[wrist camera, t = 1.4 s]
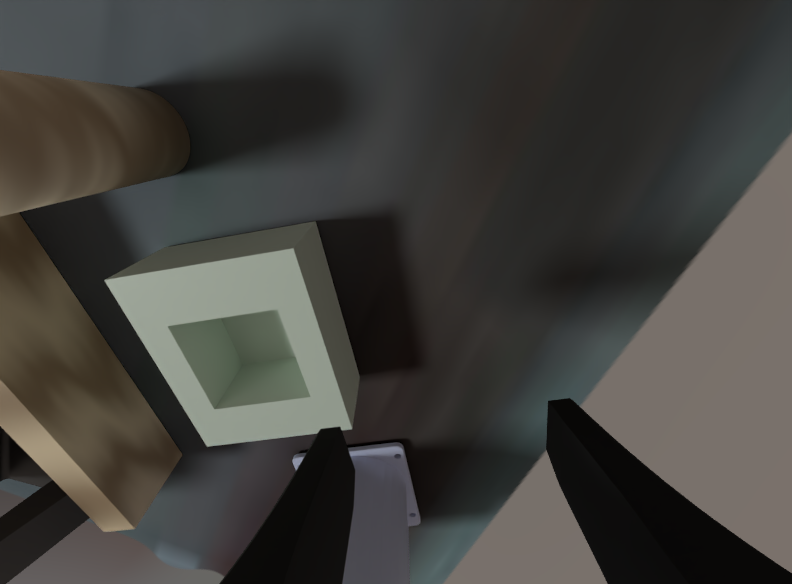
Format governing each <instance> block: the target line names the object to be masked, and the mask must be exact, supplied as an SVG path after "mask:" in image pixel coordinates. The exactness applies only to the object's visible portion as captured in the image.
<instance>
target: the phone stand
mask: <svg viewBox="0 0 792 584" xmlns="http://www.w3.org/2000/svg"><path fill="white" fill-rule="evenodd" d="M4 479H13V480H17V481H21V482H24V483H28V484H32V485H35V486H39V487H42V488H40V489H39V490H38V491H36V492H35V493H34V494H32V495H31V496H29V497H28V498H27V499H25V500H24V501H23V502H21V503H20V504H18V505H17V506H16V507H14V508H13V509H11V510H10V511H9V512H7V513H6V514H5V515H3V516H2V517H1V518H0V584H6V583H7V582H9V581H10V580H11V579H12V578H14V577H15V576H16V575H18V574H19V573H20V572H21V571H23V570H24V569H25V568H26V567H27V566H29V565H30V564H31V563H33V562H34V561H35V560H37V559H38V558H39V557H40V556H42V555H43V554H44V553H45V552H47V551H48V550H49V549H50V548H52V547H53V546H54V545H56V544H57V543H58V542H59V541H61V540H62V539H63V538H64V537H66V536H67V535H68V534H70V533H71V532H72V531H73V530H75V529H76V528H77V527H78V526H80V525H81V524H82V523H84V522H85V521H86V520H87V519H89V518H90V517H89V516H88V515H87V514H86V513H85V512H84V511H83V510H82V509H81V508H80V507H79V506H78V505H77V504H76V503H75V502H74V501H73V500H72V499H71V498H70V497H69V496H68V495H67V494H66V493H65V492H64V491H63V490H62V489H61V488H60V487H59V485H58V484H57V483H56V482H55V481H54V480H53V479H52V478H51V477H50V476H49V475H48V474H47V473H46V472H45V471H44V470H43V469H42V468H41V467H40V466H39V465H38V464H37V463H36V462H35V461H34V460H33V459H32V458H31V457H30V456H29V455H28V454H27V453H26V452H25V451H24V450H23V449H22V448H21V447H20V446H19V445H18V444H17V443H16V442H15V441H14V440H13V439H12V438H11V437H10V435H9V434H8V433H7V432H6V431H5V430H4V429H3V428H2V427H1V426H0V481H2V480H4Z"/></svg>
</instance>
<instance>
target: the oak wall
mask: <svg viewBox="0 0 792 584" xmlns="http://www.w3.org/2000/svg"><path fill="white" fill-rule="evenodd" d="M0 426H1V427H2V428H3V429H4V430H5V431H6V432H7V433H8V434H9V435H10V437H11V438H12V439H13V440H14V441H15V442H16V443H17V444H18V445H19V446H20V447H21V448H22V449H23V450H24V451H25V452H26V453H27V454H28V455H29V456H30V457H31V458H32V459H33V460H34V461H35V462H36V463H37V464H38V465H39V466H40V467H41V468H42V469H43V470H44V471H45V472H46V473H47V474H48V475H49V476H50V477H51V478H52V479H53V480H54V481H55V482H56V483H57V484H58V485H59V487H60V488H61V489H62V490H63V491H64V492H65V493H66V494H67V495H68V496H69V497H70V498H71V499H72V500H73V501H74V502H75V503H76V504H77V505H78V506H79V507H80V508H81V509H82V510H83V511H84V512H85V513H86V514H87V515H88V516H89V517H90V518H91V519H92V520H93V521H94V522H95V523H96V524H97V525H98V526H99V527H100V528H101V529H102V530H103V531H104V532H109V531H119V530H129V529H135V528H136V526H137V525H138V523H139V522H140V520H141V519H142V517H143V516H144V514H145V512H146V511H147V509H148V508H149V506H150V505H151V503H152V502H153V500H154V499H155V497H156V495H157V494H158V492H159V491H160V489H161V488H162V486H163V485H164V483H165V481H166V480H167V478H168V477H169V475H170V474H171V472H172V471H173V469H174V468H175V466H176V464H177V463H178V461H179V460H180V458H181V457H182V455H183V454H182V453H181V451H180V450H179V449H178V447H177V446H176V444H175V443H174V441H173V440H172V438H171V437H170V435H169V434H168V432H167V431H166V429H165V428H164V426H163V425H162V423H161V422H160V420H159V419H158V417H157V416H156V414H155V413H154V412H153V410H152V409H151V407H150V406H149V404H148V403H147V401H146V400H145V398H144V397H143V395H142V394H141V392H140V391H139V389H138V388H137V386H136V385H135V383H134V382H133V380H132V379H131V378H130V376H129V375H128V373H127V372H126V370H125V369H124V367H123V366H122V364H121V363H120V361H119V360H118V358H117V357H116V355H115V354H114V352H113V351H112V349H111V348H110V346H109V345H108V343H107V342H106V341H105V339H104V338H103V336H102V335H101V333H100V332H99V330H98V329H97V327H96V326H95V324H94V323H93V321H92V320H91V318H90V317H89V315H88V314H87V312H86V311H85V309H84V308H83V306H82V305H81V304H80V302H79V301H78V299H77V298H76V296H75V295H74V293H73V292H72V290H71V289H70V287H69V286H68V284H67V283H66V281H65V280H64V278H63V277H62V275H61V274H60V272H59V271H58V270H57V268H56V267H55V265H54V264H53V262H52V261H51V259H50V258H49V256H48V255H47V253H46V252H45V250H44V249H43V247H42V246H41V244H40V243H39V241H38V240H37V238H36V237H35V235H34V234H33V233H32V231H31V230H30V228H29V227H28V225H27V224H26V222H25V221H24V219H23V218H22V216H21V215H20V213H19V212H17V213H13V214H9V215H5V216H1V217H0Z"/></svg>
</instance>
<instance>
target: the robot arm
mask: <svg viewBox="0 0 792 584" xmlns="http://www.w3.org/2000/svg"><path fill="white" fill-rule="evenodd" d="M546 450H547V452H548V455H549V458H550V461H551V463H552V466H553V469H554V472H555V474H556V477H557V480H558V482H559V485H560V487H561V489H562V491H563V493H564V495H565V498H566V499H567V502H568V504H569V506H570V508H571V510H572V512H573V514H574V516H575V518H576V520H577V522H578V524H579V526H580V528H581V530H582V532H583V534H584V536H585V538H586V540H587V542H588V544H589V546H590V548H591V550H592V552H593V554H594V556H595V559H596V561H597V563H598V565H599V566H600V569H601V571H602V573H603V575H604V577H605V579H606V581H607V583H608V584H792V573H790V572H789V571H787V570H786V569H784V568H783V567H781V566H780V565H778V564H777V563H775V562H774V561H772V560H771V559H769V558H768V557H766V556H765V555H764V554H762V553H761V552H759V551H758V550H756V549H755V548H753V547H752V546H750V545H749V544H748V543H746V542H745V541H743V540H742V539H741V538H739V537H738V536H736V535H735V534H734V533H732V532H731V531H729V530H728V529H727V528H725V527H724V526H722V525H721V524H720V523H718V522H717V521H715V520H714V519H713V518H711V517H710V516H709V515H707V514H706V513H705V512H703V511H702V510H701V509H699V508H698V507H697V506H695V505H694V504H693V503H692V502H690V501H689V500H688V499H686V498H685V497H684V496H682V495H681V494H680V493H679V492H677V491H676V490H675V489H674V488H672V487H671V486H670V485H669V484H667V483H666V482H664V480H662V479H661V478H660V477H659V476H658V475H656V474H655V473H654V472H653V471H651V470H650V469H649V468H648V467H647V466H645V465H644V464H643V463H642V462H641V461H640V460H638V459H637V458H636V457H635V456H634V455H633V454H631V453H630V452H629V451H628V450H627V449H625V448H624V447H623V446H622V445H621V444H620V443H618V441H616V440H615V439H614V438H613V437H612V436H611V435H610V434H609V433H607V432H606V431H605V430H604V429H603V428H602V427H601V426H599V424H598V423H597V422H595V421H594V420H593V419H592V418H591V417H590V416H589V415H588V414H587V413H586V412H585V411H584V410H583V409H582V408H580V407H579V406H578V405H577V404H576V403H575V402H574V401H573V400H572V399H570V398H568V399H560V400H552V401H548V418H547V443H546ZM293 465H294V467H295V469H296V472H295V474H294V475H293V477H292V479H291V480H290V482H289V484H288V485H287V487H286V488H285V490H284V492H283V493H282V495H281V497H280V498H279V500H278V501H277V503H276V505H275V506H274V508H273V509H272V511H271V512H270V514H269V515H268V517H267V518H266V520H265V521H264V523H263V524H262V526H261V527H260V529H259V530H258V532H257V533H256V535H255V536H254V538H253V539H252V540H251V542H250V543H249V545H248V546H247V547H246V549H245V550H244V552H243V553H242V554H241V556H240V557H239V558H238V560H237V561H236V563H235V564H234V565H233V567H232V568H231V569H230V571H229V572H228V573H227V574H226V576H225V577H224V578H223V580H222V581H221V582H220V584H410V567H409V531H408V526H416V525H418V524H420V514H419V510H418V506H417V501H416V497H415V493H414V489H413V485H412V480H411V476H410V472H409V468H408V463H407V459H406V455H405V451H404V447H403V445H402V444H401V443H398V442H394V443H385V444H377V445H368V446H360V447H351V448H347V445H346V442H345V439H344V436H343V433H342V430H341V427H331V428H323V429H320V430H319V432H318V433H317V435H316V437H315V439H314V440H313V442H312V444H311V446H310V448H309V449H308V451H307V453H300V454H296V455H295V456H294V458H293Z"/></svg>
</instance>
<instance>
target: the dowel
mask: <svg viewBox="0 0 792 584" xmlns="http://www.w3.org/2000/svg"><path fill="white" fill-rule="evenodd" d="M189 155H190V138H189V133H188V130H187V127H186V125H185V123H184V121H183V119H182V118H181V116H180V115H179V113H178V112H177V111H176V110H175V108H174V107H173V106H172V105H171V104H170V103H169V102H168V101H166V100H165V99H164V98H162V97H161V96H159V95H157V94H156V93H153V92H151V91H148V90H145V89H140V88H133V87H125V86H118V85H110V84H103V83H95V82H87V81H80V80H72V79H65V78H57V77H49V76H42V75H34V74H26V73H19V72H11V71H4V70H0V217H1V216H5V215H9V214H13V213H17V212H22V211H26V210H30V209H34V208H38V207H43V206H47V205H51V204H55V203H59V202H64V201H68V200H72V199H76V198H80V197H85V196H89V195H93V194H97V193H101V192H106V191H110V190H114V189H118V188H122V187H127V186H131V185H135V184H139V183H143V182H148V181H152V180H156V179H160V178H164V177H168V176H172V175H174V174H176V173H178V172H179V171H181V170H182V169H183V168H184V166H185V165H186V163H187V161H188V159H189Z"/></svg>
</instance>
